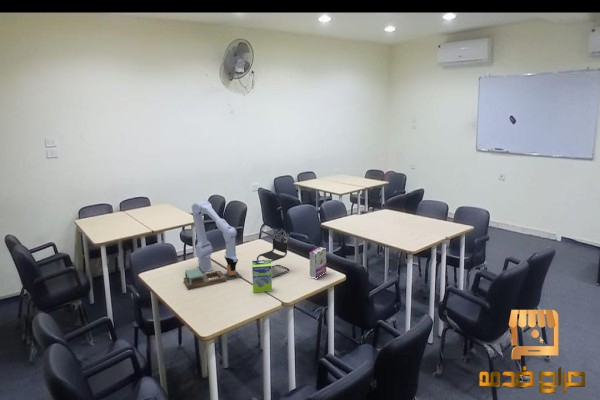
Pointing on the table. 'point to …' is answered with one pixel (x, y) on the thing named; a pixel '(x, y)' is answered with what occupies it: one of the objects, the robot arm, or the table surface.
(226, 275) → the rubber mat
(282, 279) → the table surface
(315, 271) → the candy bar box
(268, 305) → the table surface
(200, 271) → the sliding cover
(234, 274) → the terracotta block
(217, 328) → the table surface
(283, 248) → the chair
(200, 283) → the brown flat rectangular frame
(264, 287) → the box
